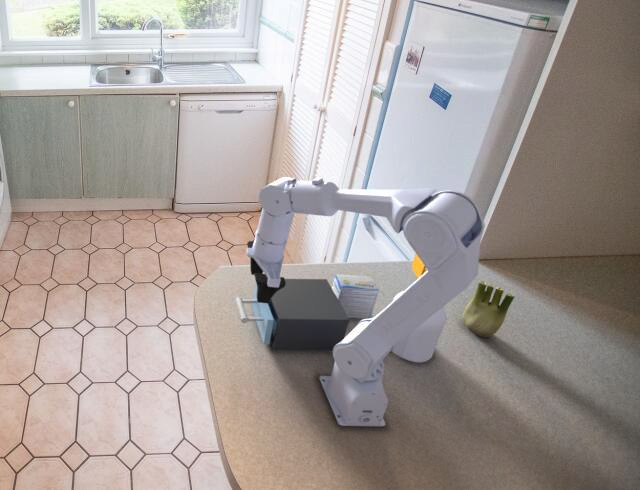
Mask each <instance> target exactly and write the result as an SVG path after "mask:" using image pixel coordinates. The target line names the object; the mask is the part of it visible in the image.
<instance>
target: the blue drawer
mask: <svg viewBox="0 0 640 490" xmlns="http://www.w3.org/2000/svg"><path fill="white" fill-rule="evenodd" d="M234 300H235V304H236V308H237V311H238V315H239V319H240V321H241V323H242V324H247V323H248V322H256V325H257V328H258V332H259V335H260V338H261V340H262V344H263V346H265V345H266V346H268V345H270V344H271V341H270V338H271V333H272V334H273V336H274V338H275V332H276V327H277V322H278V317H277V315H276V312H275V309H274V307H273V304H272V302H271V299H270V301H269V302H268V303H259V302H258V301H257V283H255V284H254V290H253V297H252V299H251V298H242V297H241V296H237V297H236V298H235V299H234ZM245 304H251V309H252V312H253V316H248V315H247V312H246V311H247V310H246V307H245Z"/></svg>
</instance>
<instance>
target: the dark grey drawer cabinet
mask: <svg viewBox="0 0 640 490" xmlns="http://www.w3.org/2000/svg"><path fill="white" fill-rule="evenodd" d="M284 279H285V282H286V284H285V287H284V288H282V289H280V290H278V291H277V292H276V293H275V294H274V295H273V297H272V298H271V302H272V304H273V307H274V309H275V312H276V315H277V317H278V322H277V327H276V332H275V338H274V336H273V334H272V333H271V338H270V344H271V347H272V350H273V351H281V352H282V351H286V352H287V351H289V352H333V348H334V347H335V345H337V344H338V343H339V342H341V341H342V340H343V339H344V338H345V337H346V335H347V330H348V327H349V323H350V318H348V316H347V315H346V313H345V311H344V309H343V307H342V306H341V304H340V302H339V300H338V299H337V297H336V295H335V293H334V291H333V290H332V286H331V285H330V283H329V280H327V278H284Z"/></svg>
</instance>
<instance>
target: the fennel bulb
mask: <svg viewBox="0 0 640 490" xmlns="http://www.w3.org/2000/svg"><path fill="white" fill-rule="evenodd" d="M493 291H494V293H493ZM504 291H505V289H503V287H499V286H497V287H496V288H495V286H494V285H493V284H488V283H487V282H485V281H482V280H480V281H478V283H477V288H476V290H475V293H474V296H473V297H472V299H471V300H470V301H469V303H467V305H466V307H465V308H464V311H463V313H462V317H461V320H462V322H463V324H464V326H465V327H466V329H468V330H469V332H471V333H473V334H475V335H477V336H479V337H482V338H483V337H484V338H487V337H489V338H490V337H491V336H493V335H495V334H496V333H497V332H498V331H499V330H500V329H501V327H502V325H503V323H504V322H505V319H506V315H507V314H508V310H509V309H510V306H511V304H512V302H513V301H514V299H515V297H516V296H515V295H514V294H513V293H510V292H507V293H506V294H505V296H504V298H503V299H502V297H503V294H504ZM501 300H502V301H501Z"/></svg>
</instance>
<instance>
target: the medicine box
mask: <svg viewBox="0 0 640 490" xmlns="http://www.w3.org/2000/svg"><path fill="white" fill-rule="evenodd" d="M331 288H332V290H333V291H334V293H335V295H336V297H337V299H338V300H339V302H340V304H341V306H342V307H343V309H344V311H345V313H346V315H347V316H348V318H349V319H359V320H360V319H361V320H363V319H371V318H372V316H373V312H374V309H375V305H376V302H377V299H378V296H379V293H380V289H379V288H378V286H377V284H376V283H375V281H374V279H373V278H372V276H364V275H349V274H335V275H334V278H333V282H332V286H331Z"/></svg>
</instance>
